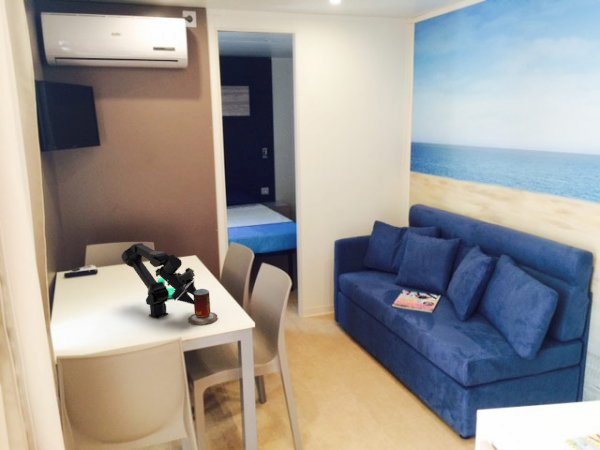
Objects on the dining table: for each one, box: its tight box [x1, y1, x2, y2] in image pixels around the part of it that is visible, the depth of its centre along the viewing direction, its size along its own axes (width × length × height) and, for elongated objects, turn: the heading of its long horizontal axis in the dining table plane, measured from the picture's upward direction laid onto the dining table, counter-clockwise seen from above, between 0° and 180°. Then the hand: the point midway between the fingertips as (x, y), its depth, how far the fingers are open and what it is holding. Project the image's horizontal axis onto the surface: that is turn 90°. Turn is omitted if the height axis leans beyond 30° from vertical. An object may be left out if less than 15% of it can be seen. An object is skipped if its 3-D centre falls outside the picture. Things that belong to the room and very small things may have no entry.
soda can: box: [192, 288, 211, 319], centre depth 226 cm, size 7×7×12 cm
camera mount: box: [157, 277, 175, 299], centre depth 260 cm, size 12×8×10 cm, turn 15°
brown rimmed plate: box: [187, 311, 218, 326], centre depth 227 cm, size 13×13×1 cm
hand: (197, 300), depth 226 cm, fingers open, 9 cm apart
